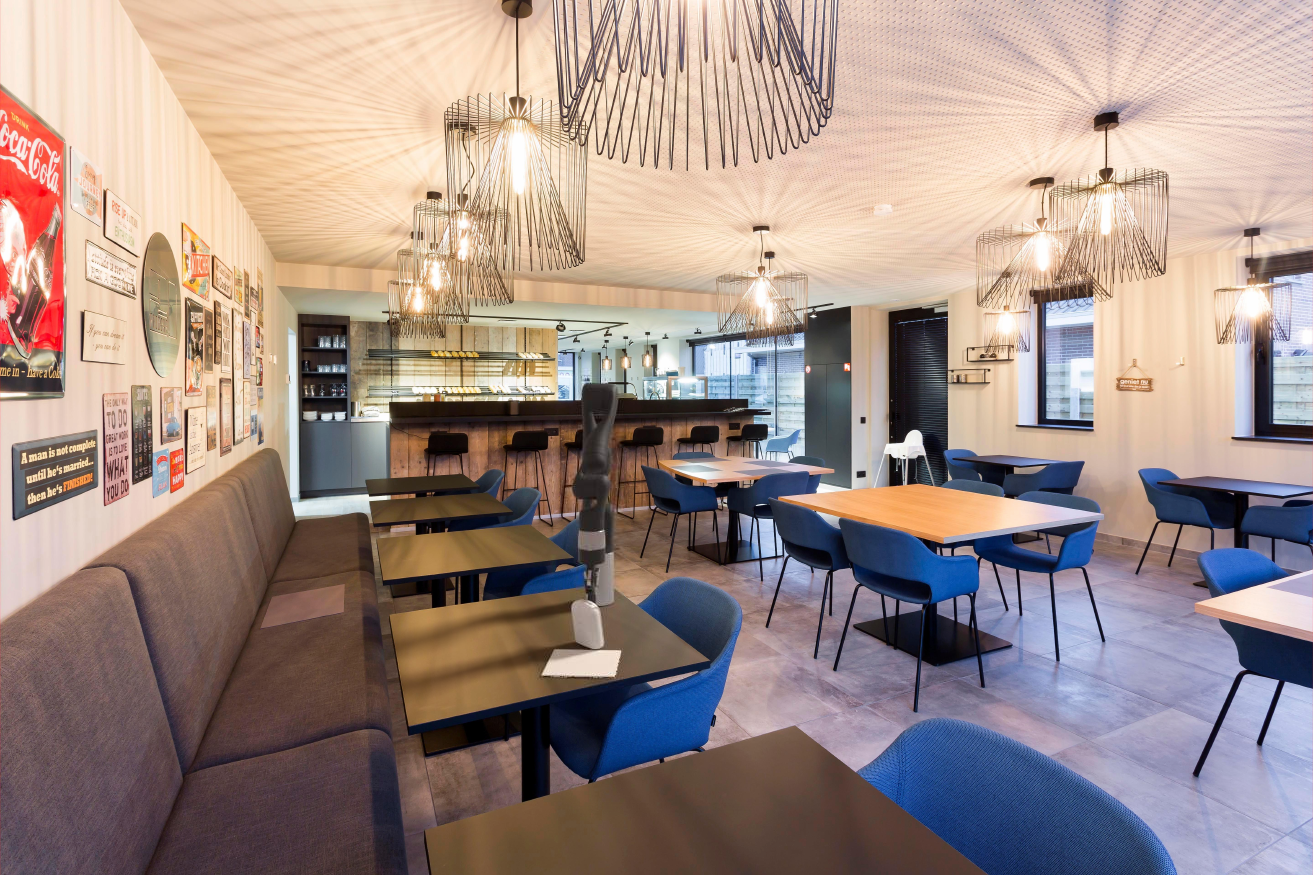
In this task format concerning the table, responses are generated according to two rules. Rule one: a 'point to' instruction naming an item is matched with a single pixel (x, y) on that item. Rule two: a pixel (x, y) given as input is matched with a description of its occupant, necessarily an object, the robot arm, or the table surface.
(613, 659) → the mat
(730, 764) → the table surface
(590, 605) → the photo printer
